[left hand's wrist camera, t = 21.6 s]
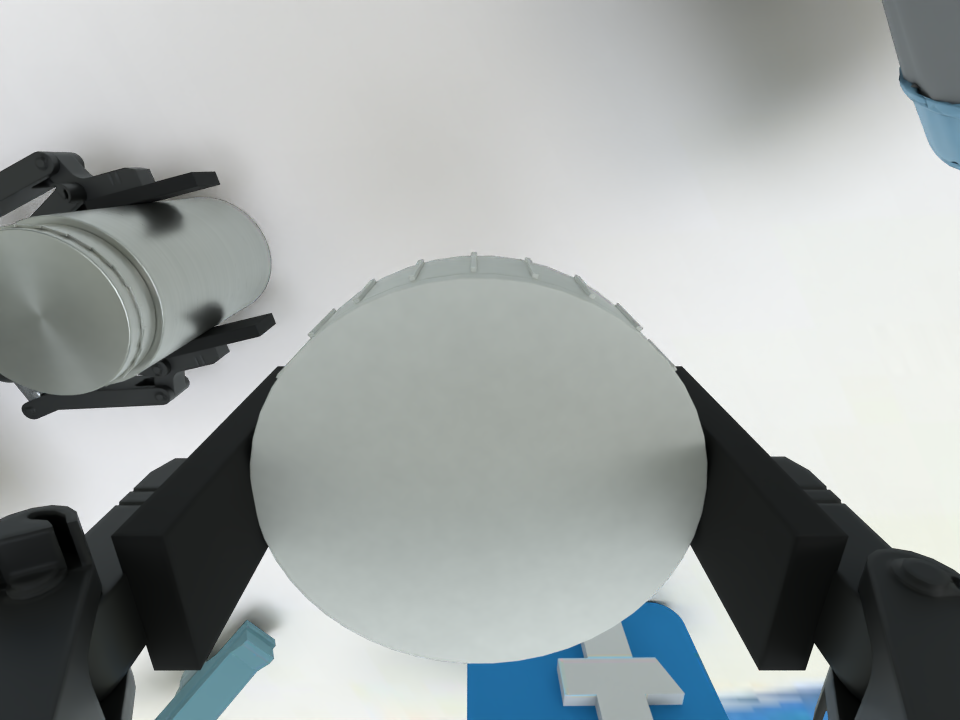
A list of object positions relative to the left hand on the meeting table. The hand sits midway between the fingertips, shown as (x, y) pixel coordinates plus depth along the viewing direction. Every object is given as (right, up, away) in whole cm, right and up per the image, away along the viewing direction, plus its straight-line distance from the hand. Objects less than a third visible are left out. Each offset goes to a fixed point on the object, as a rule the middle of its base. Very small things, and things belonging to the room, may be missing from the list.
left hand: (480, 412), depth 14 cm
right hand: (-15, +8, +17) cm, 24 cm away
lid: (0, -1, -3) cm, 4 cm away
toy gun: (-26, -28, +37) cm, 53 cm away
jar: (-19, +9, +23) cm, 32 cm away
